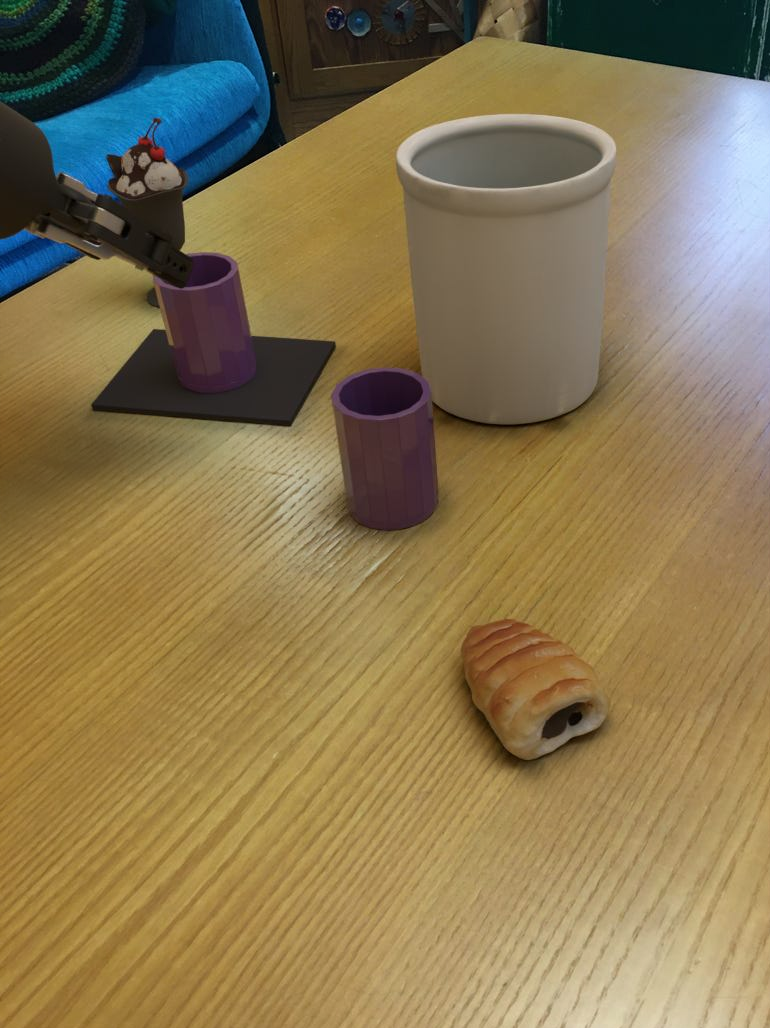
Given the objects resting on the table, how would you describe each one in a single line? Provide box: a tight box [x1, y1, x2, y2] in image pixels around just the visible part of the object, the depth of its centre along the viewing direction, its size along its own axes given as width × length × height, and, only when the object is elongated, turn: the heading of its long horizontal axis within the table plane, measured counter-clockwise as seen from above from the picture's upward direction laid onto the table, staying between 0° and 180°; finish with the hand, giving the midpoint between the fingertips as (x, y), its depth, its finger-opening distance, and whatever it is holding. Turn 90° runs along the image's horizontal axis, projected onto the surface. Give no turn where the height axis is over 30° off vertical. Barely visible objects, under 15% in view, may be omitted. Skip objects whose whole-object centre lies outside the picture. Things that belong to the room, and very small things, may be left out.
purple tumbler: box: [330, 366, 439, 531], centre depth 72 cm, size 6×6×8 cm
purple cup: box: [152, 251, 257, 393], centre depth 84 cm, size 6×6×8 cm
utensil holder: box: [395, 113, 617, 425], centre depth 80 cm, size 15×15×18 cm
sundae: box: [105, 117, 189, 308], centre depth 93 cm, size 7×7×15 cm
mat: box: [90, 328, 337, 427], centre depth 87 cm, size 16×12×1 cm
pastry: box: [460, 618, 611, 761], centre depth 60 cm, size 9×7×4 cm
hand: (143, 260), depth 77 cm, fingers open, 8 cm apart
